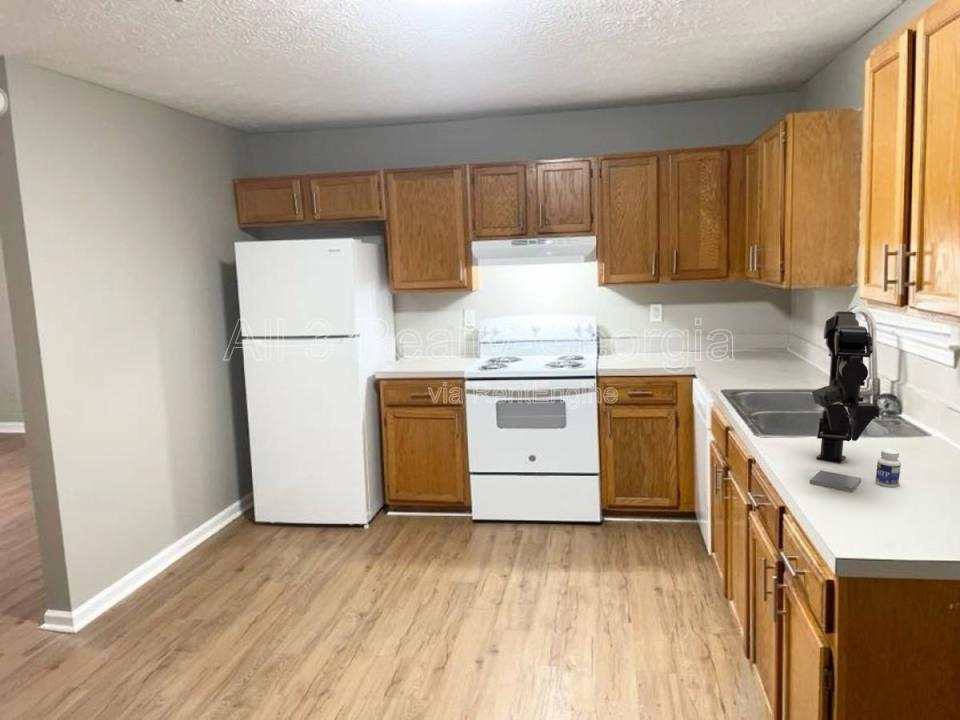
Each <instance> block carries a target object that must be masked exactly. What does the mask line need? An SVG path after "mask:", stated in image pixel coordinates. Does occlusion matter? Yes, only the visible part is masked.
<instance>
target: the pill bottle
mask: <svg viewBox="0 0 960 720" xmlns="http://www.w3.org/2000/svg"><path fill="white" fill-rule="evenodd" d="M899 457H900V452H899V451H898V450H895V449H891V448H890V449H887V448H886V449H885V448H884V449H881V452H880V457H879V458H878V459H877V464H876V472H875V473H876V475H875V483H876V484H877V485H880V486H883V487H887V488H897V487H898V486H899V483H900V477H901V476H900V475H901V465H902V463H901V461H900V460H899Z"/></svg>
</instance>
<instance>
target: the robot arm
mask: <svg viewBox="0 0 960 720" xmlns="http://www.w3.org/2000/svg"><path fill="white" fill-rule="evenodd" d="M856 316H857V315H856V312H853V311H845V310H844V311H839V310H838V311H837V312H836V311H834V315H833V316H831V318H828V319H827V320H826V321H825V324H824V329H823V339H825V345H826V347H827V349H828V351H829V353H830V362H829V363H830V365H829V380H828V385H825V386H823V387H820V388H817V389H816V390H813V391H811V395H812V398H813V401H814V404H815V405H819V406H820V407H821V408H823V410H822V411H821V412H820V417H818V420H817V424H816V439H818V440H819V439H821V441H820V454H818V455H817V456H816V457H815V459H817V460H822V461H827V462H833V463H838V464H840V463H842V462H843V461H844V460H845V459H846V455H843V452H844V451H843V450H844V442H850V441H853V442H857V441H858V440H859V438H860V437H861V436H862V433H864V431H865V430H866V429H867V427H868V425H869V424H870V423H872V421H873V420H875V419H876V418H880V412H881V408H880V407H879V406H878V405H877V404H875V403H871V402H864V397H863V396H861V387H865V384H866V382H865V381H866V380H867V378H868V376H869V370H868V367H867V366H866V364H865V363H864V358H871V355H872V354H873V337H872V335H871V333H870V332H868V329H867V328H866V327H865V326H861V325H859V323H860V322H859V321H858V320H857V319H856V318H857V317H856Z"/></svg>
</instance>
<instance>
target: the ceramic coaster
mask: <svg viewBox="0 0 960 720" xmlns="http://www.w3.org/2000/svg"><path fill="white" fill-rule="evenodd" d="M861 483H862V478H861V477H857V476H853V475H848V474H847V475H846V474H843V473H836V472H831V471H825V470H819V471H818V472H817V473H816V474H815V475H813V476H812V477H811V478H810V479H809V485H811V486H817V487H821V488H822V487H823V488H828V489H831V490H836V491H842V492H845V493H846V492H847V493H850V494H851V493H853V492H854V491H855V490H856V489H857V487H858V486H859V485H861Z"/></svg>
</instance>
